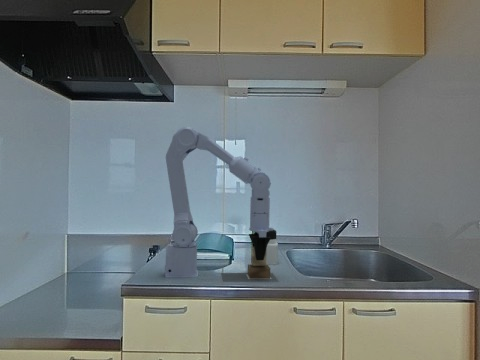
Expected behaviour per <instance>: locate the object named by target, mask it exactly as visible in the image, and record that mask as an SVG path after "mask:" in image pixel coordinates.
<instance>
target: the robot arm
mask: <svg viewBox="0 0 480 360" xmlns="http://www.w3.org/2000/svg"><path fill="white" fill-rule="evenodd" d="M196 149H198V150H201V151H208V152H209V153H210V154H212V155H213V156H215V157H216V158H218V159H219V160H221V161H222V162H223V163H225V164H226V165H227V166H228V170H229V173H231V175H234V176H235V177H236V178H238V179H239V180H240V181H242V182H243V183H245V184H246V185H250V187H251V196H250V205H249V206H250V209H249V210H250V211H249V215H250V216H249V217H250V218H249V229H248V230H249V232H253V233H248V236H249V238H250V242H251V247H252V246H254V248H255V256H256V260H264V257H265V252H266V248H267V245H268V243H269V241H270V239H271V237H267V236H268V234H267V233H266V232H268V231H273V229H274V228H273V227H270V203H271V202H270V201H271V198H270V194H271V193H270V190H269V189H270V187H271V184H272V183H271V179H270V177H269V176H268V175H267V174H266V173H265V172H262V171H261V170H262V169H261V168H260V167H256V166H255V165H254V164H252V163H251V162H250V161H249V158H247V157H246V156H245V157H243V156H242V155H240V156H234V155H232V154H231V153H230V152H228V150H226V149H225V148H224V147H222V146H221V145H220V144H219V143H217V142H216V141H214V140H213V139H212V138H211V137H209V136H207V135H205V134H204V133H201V132H199V131H197V130H195V129H194V128H193V127H191V126H182V127H181V128H179V129H178V130H177V131H176V132H175V133H174V134H173V135H172V139H171V142H170V145H169V147H168V149H167V151H166V153H165V163H166V168H167V175H168V182H169V188H170V189H169V190H170V195H171V201H172V209H173V214H174V215H173V230H172V233H171V237H172V240H173V243H172V245H166V247H165V264H164V271H165V272H164V273H165V274H164V277H165V278H198V277H199V271H198V268H197V267H198V266H197V265H198V243H196V241H195V240H196V239H197V236H198V234H199V233H198V228H197V226H196V224H195V223H194V220H193V216H192V213H191V209H190V207H191V206H190V202H189V194H188V188H187V181H186V180H187V179H186V174H185V169H184V160H185V159H186V158H187V156H188V155H189V154H190V153H191V152H193V151H195V150H196Z"/></svg>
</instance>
